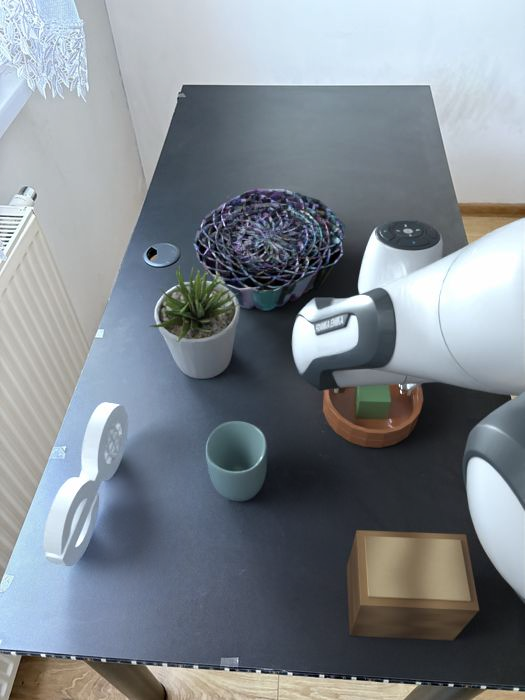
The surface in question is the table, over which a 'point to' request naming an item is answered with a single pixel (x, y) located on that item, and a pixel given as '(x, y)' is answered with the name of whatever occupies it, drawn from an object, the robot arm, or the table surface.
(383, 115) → the table surface
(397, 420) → the pan
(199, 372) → the potted plant
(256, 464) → the cup
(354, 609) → the box
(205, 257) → the decorative bowl
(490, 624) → the table surface
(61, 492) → the white lobed panel
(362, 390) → the block
